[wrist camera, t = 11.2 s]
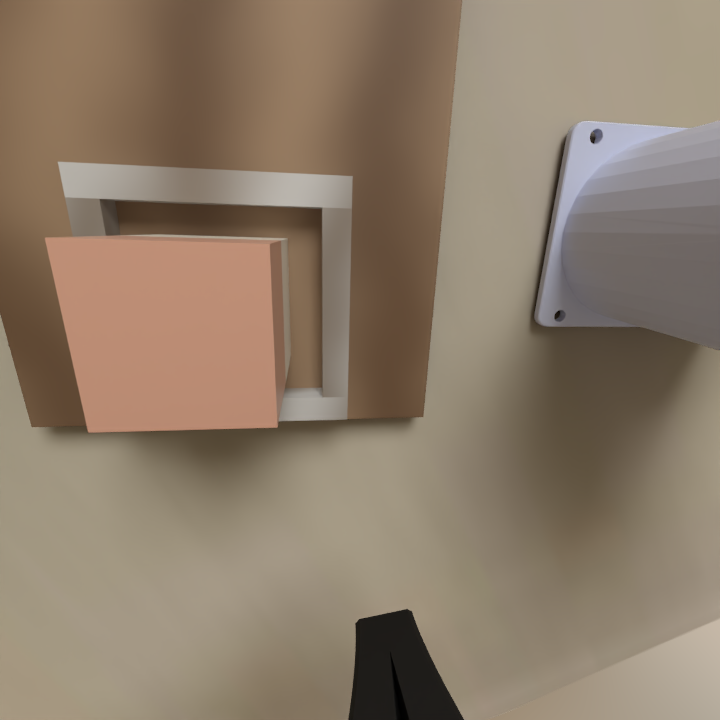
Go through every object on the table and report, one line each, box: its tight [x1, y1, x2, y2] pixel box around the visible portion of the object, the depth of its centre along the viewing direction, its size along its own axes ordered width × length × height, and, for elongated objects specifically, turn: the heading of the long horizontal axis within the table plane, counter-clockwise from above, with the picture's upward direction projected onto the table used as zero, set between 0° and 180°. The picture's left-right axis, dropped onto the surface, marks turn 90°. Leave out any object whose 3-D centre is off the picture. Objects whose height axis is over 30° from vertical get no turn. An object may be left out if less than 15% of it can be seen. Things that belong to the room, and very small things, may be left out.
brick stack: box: [45, 234, 291, 433], centre depth 12 cm, size 4×4×6 cm
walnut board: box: [0, 0, 462, 427], centre depth 12 cm, size 16×24×2 cm, turn 178°
